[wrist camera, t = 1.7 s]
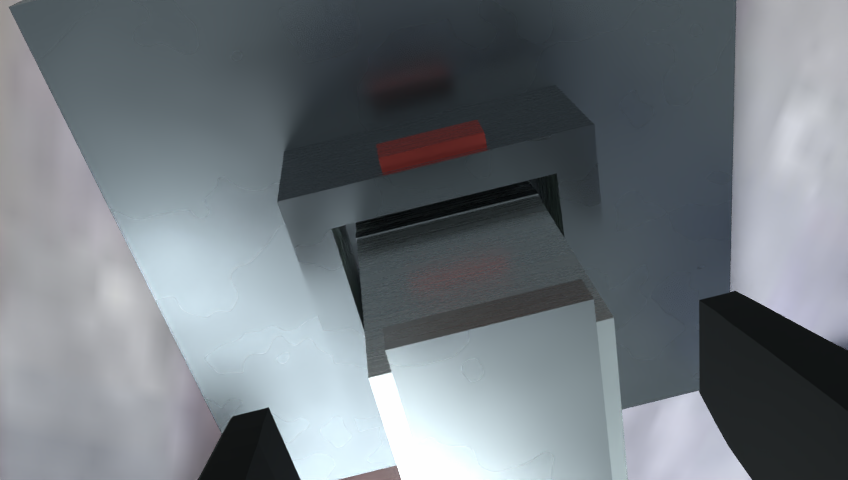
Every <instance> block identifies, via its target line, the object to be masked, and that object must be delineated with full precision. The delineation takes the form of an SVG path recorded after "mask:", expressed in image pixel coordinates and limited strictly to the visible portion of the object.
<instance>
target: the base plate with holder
mask: <svg viewBox="0 0 848 480" xmlns="http://www.w3.org/2000/svg"><path fill="white" fill-rule="evenodd" d="M9 9H10V11H11V13H12V15H13V17H14V19H15V21H16V23H17V25H18V27H19V29H20V31H21V33H22V35H23V37H24V39H25V41H26V43H27V45H28V47H29V49H30V51H31V53H32V55H33V57H34V59H35V61H36V63H37V65H38V67H39V69H40V71H41V73H42V75H43V77H44V79H45V81H46V83H47V85H48V87H49V89H50V91H51V93H52V95H53V97H54V99H55V101H56V103H57V105H58V107H59V109H60V111H61V113H62V115H63V117H64V119H65V121H66V123H67V125H68V127H69V129H70V131H71V133H72V135H73V137H74V139H75V141H76V143H77V145H78V147H79V149H80V151H81V153H82V155H83V157H84V159H85V161H86V163H87V165H88V167H89V169H90V171H91V173H92V175H93V177H94V179H95V181H96V183H97V185H98V187H99V189H100V191H101V193H102V195H103V197H104V199H105V201H106V203H107V205H108V207H109V209H110V211H111V213H112V215H113V217H114V219H115V221H116V223H117V225H118V227H119V229H120V231H121V233H122V235H123V237H124V239H125V241H126V243H127V245H128V247H129V249H130V251H131V253H132V255H133V257H134V259H135V261H136V263H137V265H138V267H139V269H140V271H141V273H142V275H143V277H144V279H145V281H146V283H147V285H148V287H149V289H150V291H151V293H152V295H153V297H154V299H155V301H156V303H157V305H158V307H159V309H160V311H161V313H162V315H163V317H164V319H165V321H166V323H167V325H168V327H169V329H170V331H171V333H172V335H173V337H174V339H175V341H176V343H177V345H178V347H179V349H180V351H181V353H182V355H183V357H184V359H185V361H186V363H187V365H188V367H189V369H190V371H191V373H192V375H193V377H194V379H195V381H196V383H197V385H198V387H199V389H200V391H201V393H202V395H203V397H204V399H205V401H206V403H207V405H208V407H209V409H210V411H211V413H212V415H213V417H214V419H215V421H216V423H217V425H218V427H219V429H220V431H221V433H223V431H224V430H225V428H226V426H227V424H228V422H229V421H230V419H231V418H232V416H236V415H240V414H244V413H248V412H252V411H256V410H260V409H264V408H268V407H269V409H270V411H271V414H272V416H273V418H274V420H275V423H276V425H277V427H278V429H279V432H280V434H281V436H282V438H283V441H284V443H285V445H286V448H287V450H288V452H289V454H290V457H291V459H292V461H293V463H294V466H295V468H296V470H297V473H298V475H299V477H300V479H301V480H338V479H342V478H347V477H351V476H355V475H359V474H363V473H367V472H371V471H375V470H379V469H383V468H387V467H391V466H395V465H397V464H396V461H395V458H394V455H393V452H392V449H391V445H390V442H389V439H388V436H387V433H386V430H385V427H384V424H383V421H382V418H381V415H380V412H379V409H378V406H377V403H376V400H375V397H374V394H373V391H372V388H371V385H370V382H369V379H368V368H367V356H366V343H365V331H364V319H363V307H362V295H361V282H360V270H359V258H358V246H357V241H356V236H355V233H356V222H360V221H364V220H369V219H373V218H377V217H381V216H385V215H389V214H393V213H397V212H401V211H405V210H409V209H413V208H417V207H422V206H426V205H430V204H434V203H438V202H442V201H446V200H450V199H454V198H458V197H462V196H466V195H470V194H475V193H479V192H483V191H487V190H491V189H495V188H499V187H503V186H507V185H511V184H515V183H519V182H523V181H528V180H529V182H530V183H531V185H532V187H533V188H534V189H536V190H537V192H538V195H539V198H540V199H541V201H542V203H543V204H544V206H545V208H546V209H547V211H548V212H549V214H550V216H551V217H552V219H553V220H554V222H555V224H556V225H557V227H558V228H559V230H560V232H561V233H562V235H563V236H564V238H565V240H566V241H567V243H568V245H569V246H570V248H571V249H572V251H573V253H574V254H575V256H576V257H577V259H578V261H579V262H580V264H581V265H582V267H583V269H584V270H585V272H586V274H587V275H588V277H589V278H590V280H591V282H592V283H593V285H594V286H595V288H596V290H597V291H598V293H599V294H600V296H601V298H602V299H603V301H604V303H605V304H606V306H607V307H608V309H609V311H610V312H611V314H612V315H613V317H614V325H615V336H616V348H617V360H618V372H619V384H620V395H621V407H622V409H626V408H630V407H634V406H638V405H642V404H646V403H650V402H654V401H658V400H662V399H666V398H670V397H674V396H678V395H682V394H686V393H690V392H694V391H698V390H699V300H701V299H705V298H709V297H713V296H717V295H721V294H725V293H729V292H730V261H731V214H732V167H733V120H734V73H735V26H736V0H22V1H20V2H18V3H16V4H14V5H12V6H10V7H9Z"/></svg>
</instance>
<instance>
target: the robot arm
mask: <svg viewBox="0 0 848 480" xmlns="http://www.w3.org/2000/svg"><path fill="white" fill-rule="evenodd" d="M699 392H700V394H701V396H702V398H703V400H704V402H705V404H706V406H707V408H708V409H709V411H710V413H711V415H712V417H713V419H714V421H715V423H716V424H717V426H718V428H719V430H720V432H721V433H722V435H723V437H724V439H725V441H726V442H727V444H728V446H729V447H730V449H731V450H732V452H733V453H734V455H735V456H736V458H737V459H738V460H739V462H740V463H741V465H742V466H743V467H744V469H745V470H746V472H747V473H748V474H749V476H750V477H751V479H752V480H848V350H846V349H844V348H842V347H840V346H838V345H836V344H834V343H832V342H830V341H828V340H826V339H824V338H823V337H821V336H819V335H817V334H815V333H813V332H811V331H809V330H808V329H806V328H804V327H802V326H800V325H798V324H796V323H795V322H793V321H791V320H789V319H787V318H785V317H783V316H782V315H780V314H778V313H776V312H774V311H772V310H771V309H769V308H767V307H765V306H763V305H761V304H760V303H758V302H756V301H754V300H752V299H750V298H748V297H746V296H744V295H742V294H740V293H738V292H736V291H733V292H729V293H725V294H721V295H717V296H713V297H709V298H705V299H701V300H699ZM198 480H301V479H300V477H299V475H298V473H297V470H296V468H295V466H294V463H293V461H292V459H291V457H290V454H289V452H288V450H287V448H286V445H285V443H284V441H283V438H282V436H281V434H280V432H279V429H278V427H277V425H276V423H275V420H274V418H273V416H272V414H271V411H270V409H269V407H268V408H264V409H260V410H256V411H252V412H248V413H244V414H240V415H236V416H232V418H231V419H230V421H229V422H228V424H227V426H226V428H225V430H224V431H223V433H222V435H221V437H220V439H219V441H218V443H217V445H216V446H215V448H214V450H213V452H212V454H211V456H210V458H209V460H208V462H207V464H206V465H205V467H204V469H203V471H202V473H201V475H200V477H199V478H198Z"/></svg>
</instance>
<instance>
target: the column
mask: <svg viewBox="0 0 848 480" xmlns="http://www.w3.org/2000/svg"><path fill="white" fill-rule="evenodd" d="M355 236H356V241H357V246H358V258H359V270H360V282H361V295H362V307H363V319H364V331H365V343H366V356H367V368H368V379H369V382H370V385H371V388H372V391H373V394H374V397H375V400H376V403H377V406H378V409H379V412H380V415H381V418H382V421H383V424H384V427H385V430H386V433H387V436H388V439H389V442H390V445H391V449H392V452H393V455H394V458H395V461H396V464H397V467H398V470H399V473H400V476H401V479H402V480H628V478H627V466H626V454H625V443H624V431H623V419H622V407H621V395H620V384H619V372H618V360H617V348H616V336H615V325H614V317H613V315H612V314H611V312H610V311H609V309H608V307H607V306H606V304H605V303H604V301H603V299H602V298H601V296H600V294H599V293H598V291H597V290H596V288H595V286H594V285H593V283H592V282H591V280H590V278H589V277H588V275H587V274H586V272H585V270H584V269H583V267H582V265H581V264H580V262H579V261H578V259H577V257H576V256H575V254H574V253H573V251H572V249H571V248H570V246H569V245H568V243H567V241H566V240H565V238H564V236H563V235H562V233H561V232H560V230H559V228H558V227H557V225H556V224H555V222H554V220H553V219H552V217H551V216H550V214H549V212H548V211H547V209H546V208H545V206H544V204H543V203H542V201H541V199H540V198H539V195H538V192H537V190H536V189H534V188H533V187H532V185H531V183H530V182H529V180H528V181H523V182H519V183H515V184H511V185H507V186H503V187H499V188H495V189H491V190H487V191H483V192H479V193H475V194H470V195H466V196H462V197H458V198H454V199H450V200H446V201H442V202H438V203H434V204H430V205H426V206H422V207H417V208H413V209H409V210H405V211H401V212H397V213H393V214H389V215H385V216H381V217H377V218H373V219H369V220H364V221H360V222H356V233H355Z"/></svg>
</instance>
